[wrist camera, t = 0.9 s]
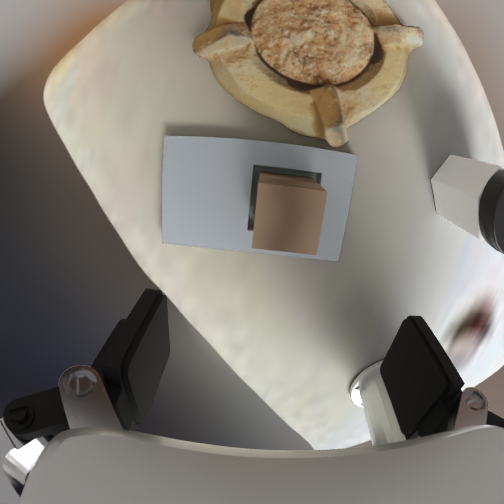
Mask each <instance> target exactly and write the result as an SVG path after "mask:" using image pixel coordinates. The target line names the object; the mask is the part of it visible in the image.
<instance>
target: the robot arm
mask: <svg viewBox="0 0 504 504" xmlns="http://www.w3.org/2000/svg"><path fill="white" fill-rule="evenodd" d="M167 312H168V311H167V297H166V295H162V291H161V290H154V289H148V288H147V289H145V291H144V292H143V294H142V295H141V297H140V298H139V300H138V302H137V303H136V305H135V306H134V308H133V310H132V311H131V313H130V314H129V316H128V318H127V319H121V320H120V321H119V322H118V324H117V325H116V327H115V328H114V330H113V332H112V333H111V335H110V336H109V338H108V339H107V341H106V343H105V344H104V346H103V347H102V349H101V351H100V352H99V354H98V356H97V358H96V359H95V361H94V363H93V364H92V366H91V367H89V366H83V365H79V366H74V367H71V368H69V369H68V370H66V371H65V372H64V373H63V374H62V375H61V377H60V380H59V386H58V387H55V388H52V389H49V390H46V391H42V392H39V393H35V394H32V395H29V396H25V397H21V398H18V399H15V400H13V401H11V402H10V403H9V404H8V405H7V406H6V408H5V410H4V414H3V418H1V419H0V504H504V419H503V418H500V417H499V416H497V415H495V414H493V413H492V412H490V411H488V401H487V398H486V397H485V395H484V394H483V393H482V392H481V391H479V390H478V389H476V388H473V387H468V388H466V389H465V390H463V392H462V391H461V388H462V386H463V385H464V382H463V380H462V378H461V377H460V375H459V373H458V372H457V370H456V368H455V367H454V365H453V363H452V362H451V360H450V359H449V357H448V355H447V354H446V352H445V351H444V349H443V347H442V346H441V344H440V343H439V341H438V340H437V338H436V337H435V335H434V334H433V332H432V331H431V329H430V328H429V326H428V325H427V323H426V322H425V320H424V319H423V318H422V317H421V316H408V317H407V318H406V319H405V320H403V322H402V324H401V326H400V328H399V331H398V333H397V335H396V337H395V339H394V341H393V343H392V345H391V347H390V349H389V351H388V353H387V355H386V356H385V358H384V360H381V361H379V362H377V363H375V364H373V365H371V366H370V367H368V368H367V369H365V370H364V371H363V372H362V373H360V374H359V375H358V376H357V378H356V379H355V380H354V382H353V383H352V385H351V388H350V395H351V399H352V401H353V402H354V403H355V404H356V405H358V406H360V407H363V409H364V412H365V416H366V420H367V424H368V428H369V432H370V436H371V440H372V444H373V446H365V447H357V448H345V449H331V450H310V451H309V450H304V451H287V450H259V449H244V448H233V447H224V446H216V445H208V444H201V443H194V442H188V441H182V440H176V439H171V438H166V437H161V436H156V435H151V434H145V433H140V432H136V431H129V430H130V429H133V430H137V431H138V430H139V427H140V424H145V423H146V421H147V418H148V415H149V412H150V409H151V406H152V403H153V400H154V397H155V394H156V392H157V388H158V386H159V383H160V380H161V377H162V375H163V372H164V369H165V366H166V363H167V361H168V358H169V354H170V341H169V328H168V313H167ZM34 464H35V465H34ZM31 469H32V470H31ZM30 470H31V473H30V475H29V477H28V479H27V482H26V484H25V476H26V474H27V473H28V472H29V471H30Z"/></svg>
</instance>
